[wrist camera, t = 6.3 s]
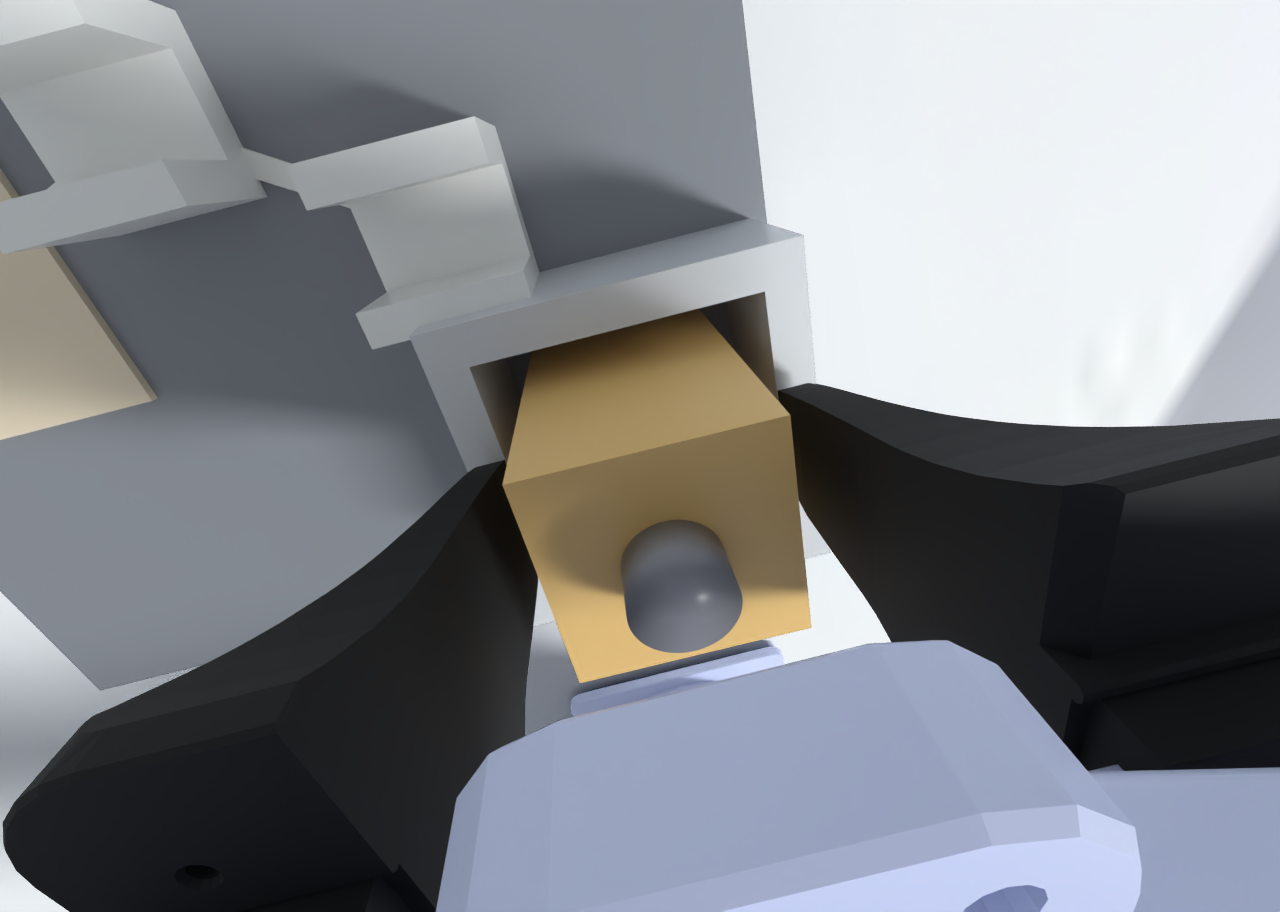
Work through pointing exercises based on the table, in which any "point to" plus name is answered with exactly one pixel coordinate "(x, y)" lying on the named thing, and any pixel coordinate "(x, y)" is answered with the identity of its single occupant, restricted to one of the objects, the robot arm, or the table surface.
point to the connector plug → (657, 496)
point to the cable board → (334, 278)
